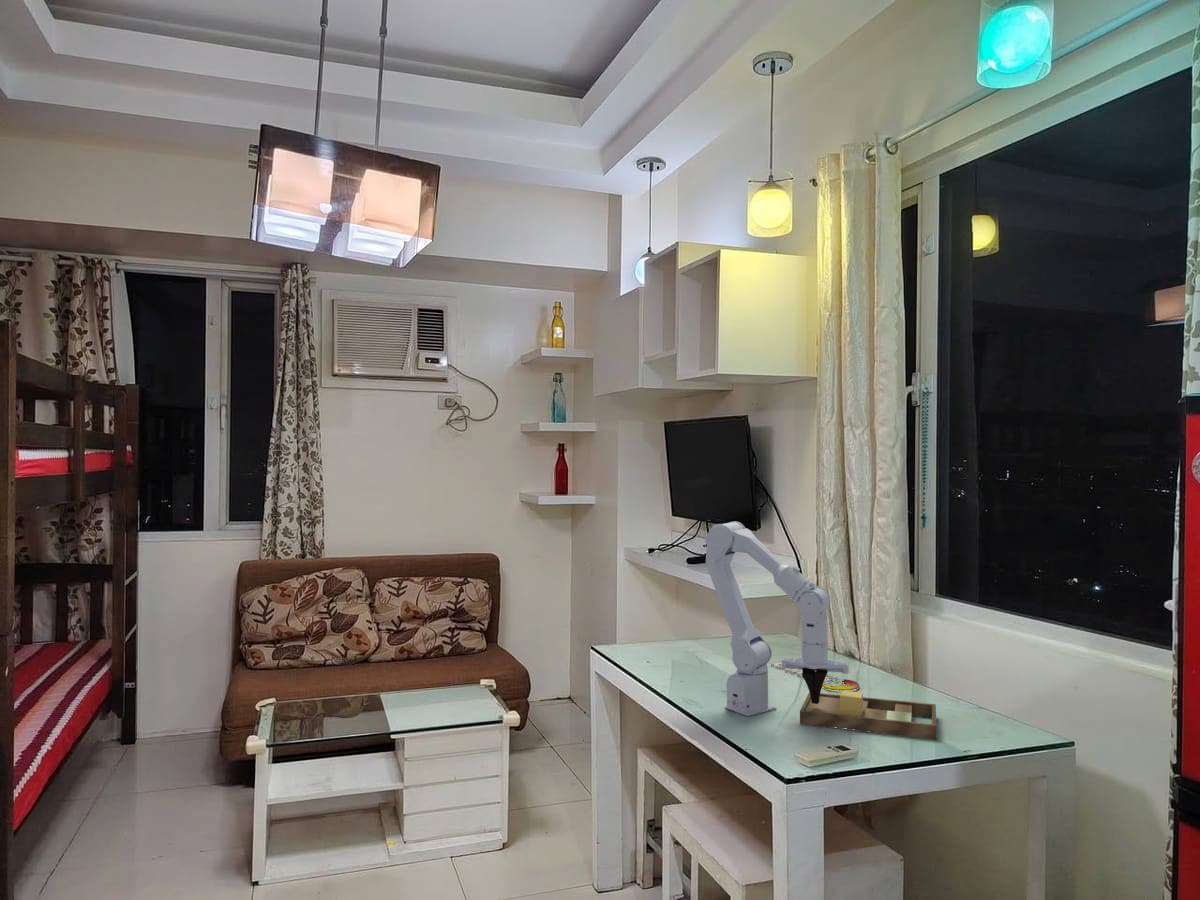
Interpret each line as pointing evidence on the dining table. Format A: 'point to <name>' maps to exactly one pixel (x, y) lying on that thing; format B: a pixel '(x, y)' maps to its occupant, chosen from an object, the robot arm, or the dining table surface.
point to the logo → (848, 683)
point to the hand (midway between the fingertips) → (815, 702)
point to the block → (851, 703)
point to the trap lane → (871, 716)
